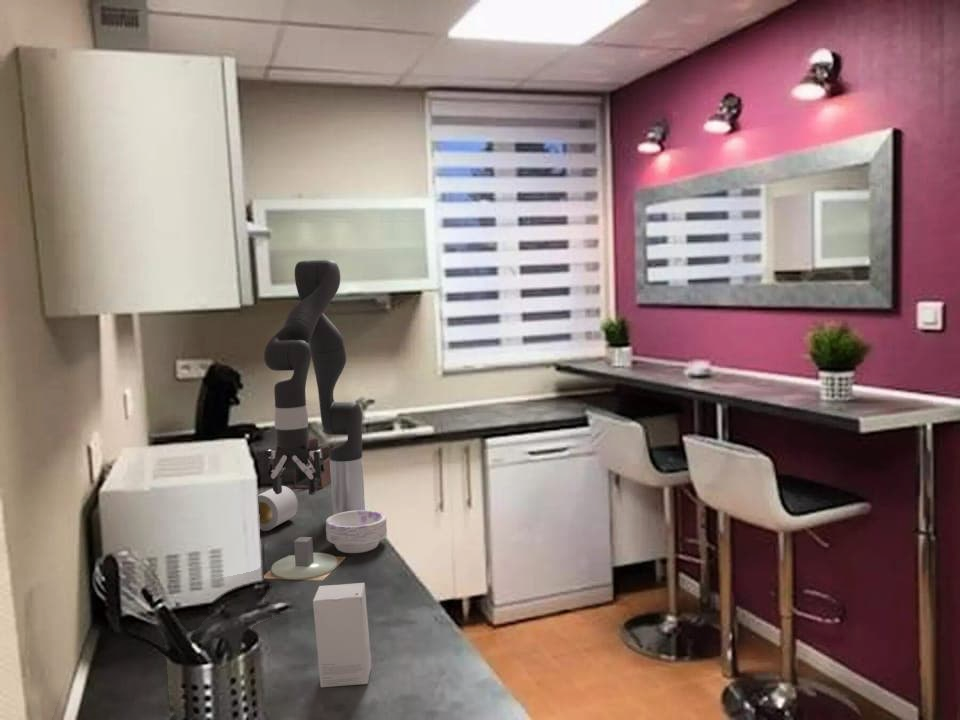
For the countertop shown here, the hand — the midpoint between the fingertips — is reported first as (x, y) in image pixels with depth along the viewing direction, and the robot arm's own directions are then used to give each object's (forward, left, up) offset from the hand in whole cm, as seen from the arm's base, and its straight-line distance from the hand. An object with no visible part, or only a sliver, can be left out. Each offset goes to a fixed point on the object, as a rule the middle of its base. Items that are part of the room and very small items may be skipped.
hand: (295, 493), depth 185 cm
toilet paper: (-31, -22, -18) cm, 42 cm away
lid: (0, +1, -18) cm, 18 cm away
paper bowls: (-15, +9, -18) cm, 25 cm away
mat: (0, +1, -18) cm, 18 cm away
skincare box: (+48, +29, -18) cm, 59 cm away
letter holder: (-79, -27, -19) cm, 85 cm away
